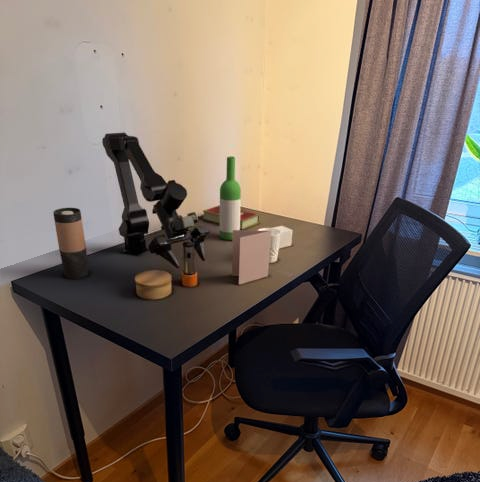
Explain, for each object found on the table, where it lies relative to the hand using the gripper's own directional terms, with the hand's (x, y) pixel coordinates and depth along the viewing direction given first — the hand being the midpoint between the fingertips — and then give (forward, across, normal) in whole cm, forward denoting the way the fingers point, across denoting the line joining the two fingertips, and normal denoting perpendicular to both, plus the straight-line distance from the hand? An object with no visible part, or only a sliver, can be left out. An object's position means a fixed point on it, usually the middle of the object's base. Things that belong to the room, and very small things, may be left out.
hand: (191, 264), depth 130 cm
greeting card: (+10, +16, -1) cm, 20 cm away
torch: (+4, 0, +6) cm, 7 cm away
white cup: (+4, +32, +6) cm, 33 cm away
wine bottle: (-13, +36, +23) cm, 45 cm away
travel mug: (-15, -24, +25) cm, 38 cm away
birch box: (+3, -11, +7) cm, 14 cm away
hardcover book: (-24, +49, +34) cm, 64 cm away
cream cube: (-1, +46, +11) cm, 48 cm away
